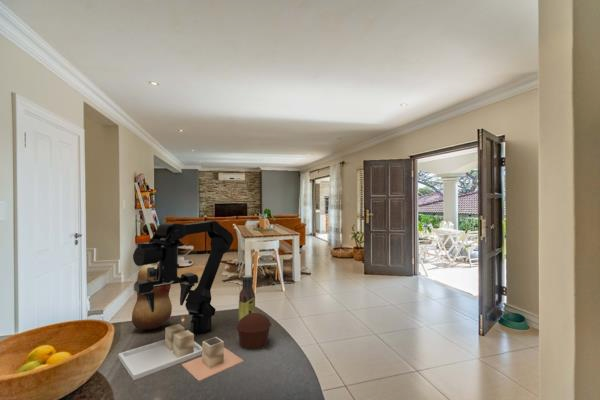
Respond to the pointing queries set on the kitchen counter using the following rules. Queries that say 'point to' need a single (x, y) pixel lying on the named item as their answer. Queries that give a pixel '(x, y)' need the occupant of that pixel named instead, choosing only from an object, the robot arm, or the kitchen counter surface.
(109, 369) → the kitchen counter surface
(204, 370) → the terracotta tile
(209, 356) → the labelled box
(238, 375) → the kitchen counter surface
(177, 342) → the plain box
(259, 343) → the muffin
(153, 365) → the white shallow tray
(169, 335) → the plain box
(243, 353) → the kitchen counter surface
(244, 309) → the sauce bottle
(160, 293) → the butternut squash
